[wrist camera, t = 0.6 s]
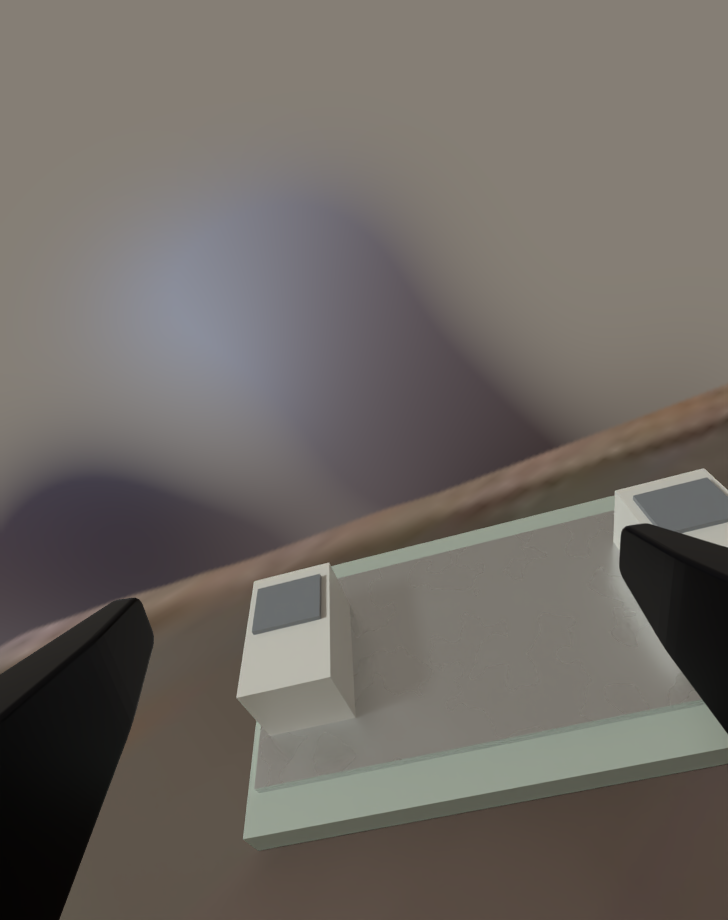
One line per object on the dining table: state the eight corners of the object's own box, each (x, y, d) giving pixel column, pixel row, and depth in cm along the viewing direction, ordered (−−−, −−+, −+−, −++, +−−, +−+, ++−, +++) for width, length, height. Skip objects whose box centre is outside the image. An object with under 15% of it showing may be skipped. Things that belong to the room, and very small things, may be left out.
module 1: (349, 604, 26) (327, 559, 24) (355, 717, 21) (328, 673, 19) (280, 621, 26) (252, 578, 24) (270, 735, 21) (233, 694, 19)
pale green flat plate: (679, 500, 26) (680, 493, 25) (843, 676, 18) (847, 669, 17) (278, 599, 28) (274, 593, 28) (259, 793, 20) (254, 788, 20)
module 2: (694, 521, 24) (704, 464, 22) (789, 625, 19) (814, 564, 17) (613, 541, 24) (615, 486, 22) (685, 647, 19) (697, 591, 17)
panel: (670, 500, 28) (672, 481, 27) (882, 735, 17) (897, 715, 16) (281, 595, 30) (272, 581, 29) (258, 850, 20) (243, 839, 19)
